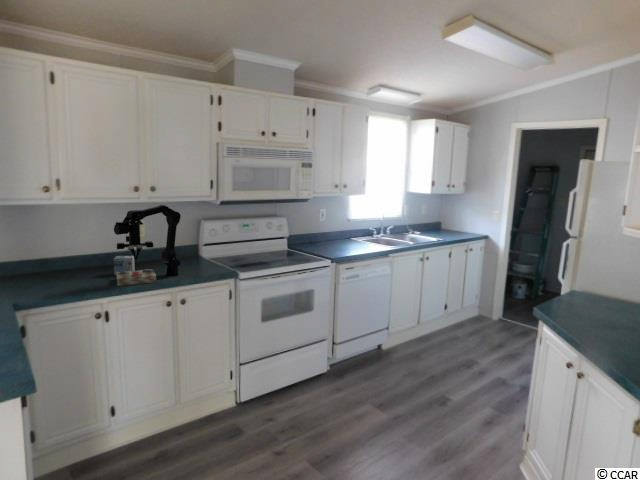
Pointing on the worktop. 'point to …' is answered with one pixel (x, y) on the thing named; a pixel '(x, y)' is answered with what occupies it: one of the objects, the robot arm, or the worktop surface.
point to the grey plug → (146, 270)
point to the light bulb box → (123, 264)
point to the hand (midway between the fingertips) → (135, 260)
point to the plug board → (135, 278)
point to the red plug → (136, 274)
